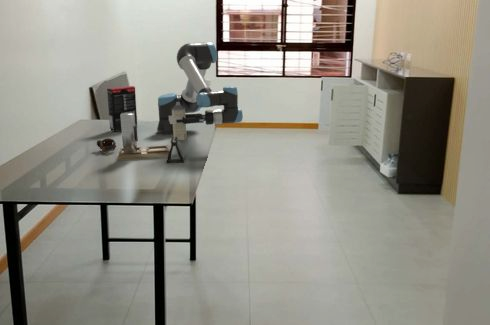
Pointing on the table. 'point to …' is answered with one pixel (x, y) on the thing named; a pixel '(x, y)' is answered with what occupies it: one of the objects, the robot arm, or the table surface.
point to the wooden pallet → (145, 153)
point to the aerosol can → (179, 128)
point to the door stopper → (177, 151)
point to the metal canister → (129, 132)
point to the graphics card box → (121, 105)
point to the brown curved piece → (106, 144)
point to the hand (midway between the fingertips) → (169, 119)
